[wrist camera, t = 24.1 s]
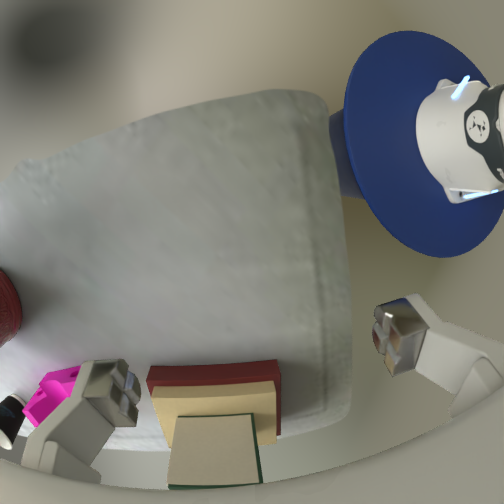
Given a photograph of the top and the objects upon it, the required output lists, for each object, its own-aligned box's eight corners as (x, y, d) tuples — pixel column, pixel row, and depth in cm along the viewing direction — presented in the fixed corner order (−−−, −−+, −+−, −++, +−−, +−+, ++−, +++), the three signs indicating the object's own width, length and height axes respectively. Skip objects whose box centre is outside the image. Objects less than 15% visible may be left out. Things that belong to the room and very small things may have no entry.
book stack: (276, 359, 39) (284, 385, 34) (277, 420, 43) (283, 446, 37) (150, 366, 38) (140, 391, 32) (168, 426, 41) (163, 451, 36)
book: (253, 412, 34) (263, 484, 23) (255, 433, 35) (264, 501, 24) (176, 415, 34) (165, 486, 22) (183, 436, 35) (175, 503, 23)
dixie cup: (22, 390, 38) (-3, 424, 27) (39, 420, 40) (18, 454, 29) (-1, 385, 38) (-26, 415, 27) (15, 414, 40) (-6, 444, 29)
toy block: (89, 363, 38) (70, 392, 30) (109, 394, 39) (95, 424, 32) (32, 375, 38) (13, 399, 30) (51, 402, 39) (35, 427, 32)
